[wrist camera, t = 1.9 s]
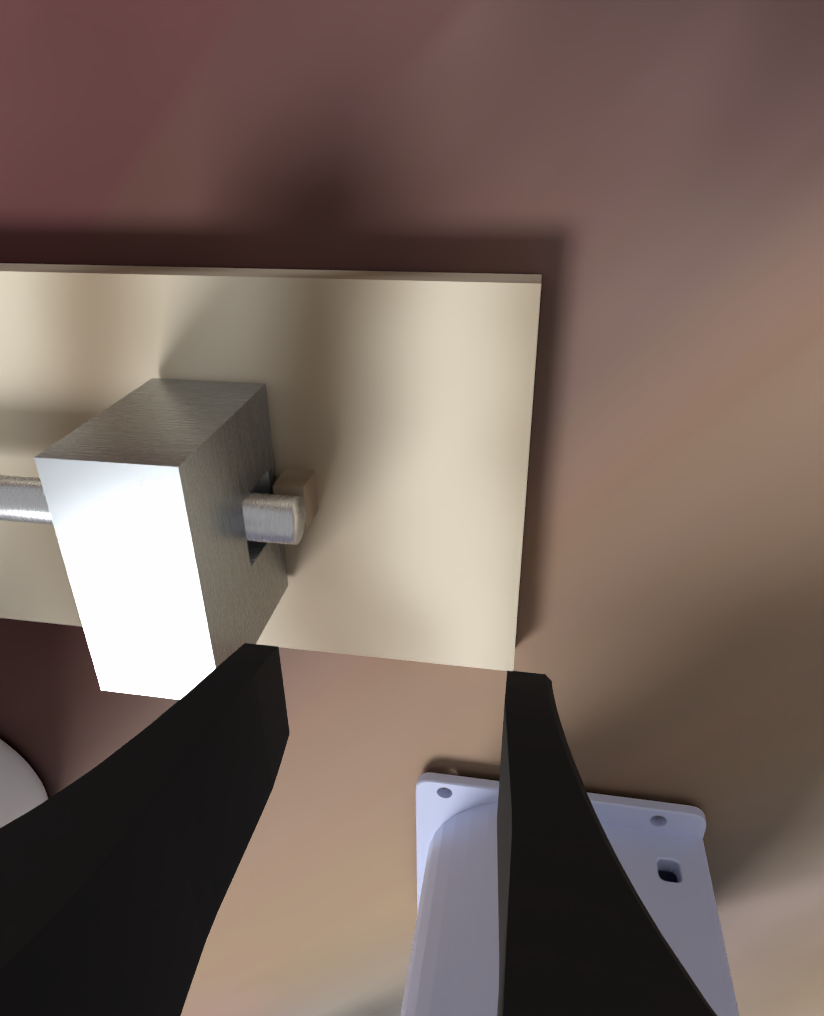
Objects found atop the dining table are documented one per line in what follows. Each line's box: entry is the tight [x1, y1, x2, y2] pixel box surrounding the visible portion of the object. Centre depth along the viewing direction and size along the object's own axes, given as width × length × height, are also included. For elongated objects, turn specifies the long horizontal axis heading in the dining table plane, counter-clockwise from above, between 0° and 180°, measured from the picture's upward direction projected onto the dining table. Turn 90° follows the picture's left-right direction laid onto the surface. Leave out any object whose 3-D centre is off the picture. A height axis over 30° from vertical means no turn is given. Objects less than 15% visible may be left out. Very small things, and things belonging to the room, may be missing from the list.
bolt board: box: [0, 263, 542, 671], centre depth 18 cm, size 23×11×6 cm, turn 91°
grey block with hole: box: [34, 378, 288, 699], centre depth 17 cm, size 3×6×5 cm, turn 0°
